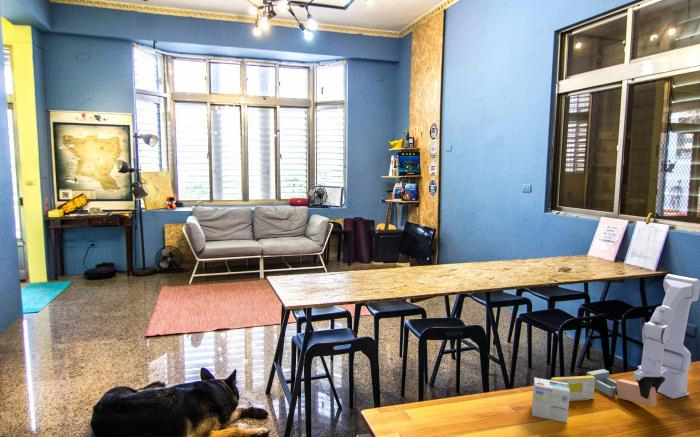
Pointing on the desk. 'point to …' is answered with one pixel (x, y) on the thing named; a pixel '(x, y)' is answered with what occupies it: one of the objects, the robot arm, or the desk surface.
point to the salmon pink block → (635, 393)
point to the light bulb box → (550, 399)
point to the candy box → (579, 387)
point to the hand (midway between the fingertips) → (647, 396)
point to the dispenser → (604, 382)
